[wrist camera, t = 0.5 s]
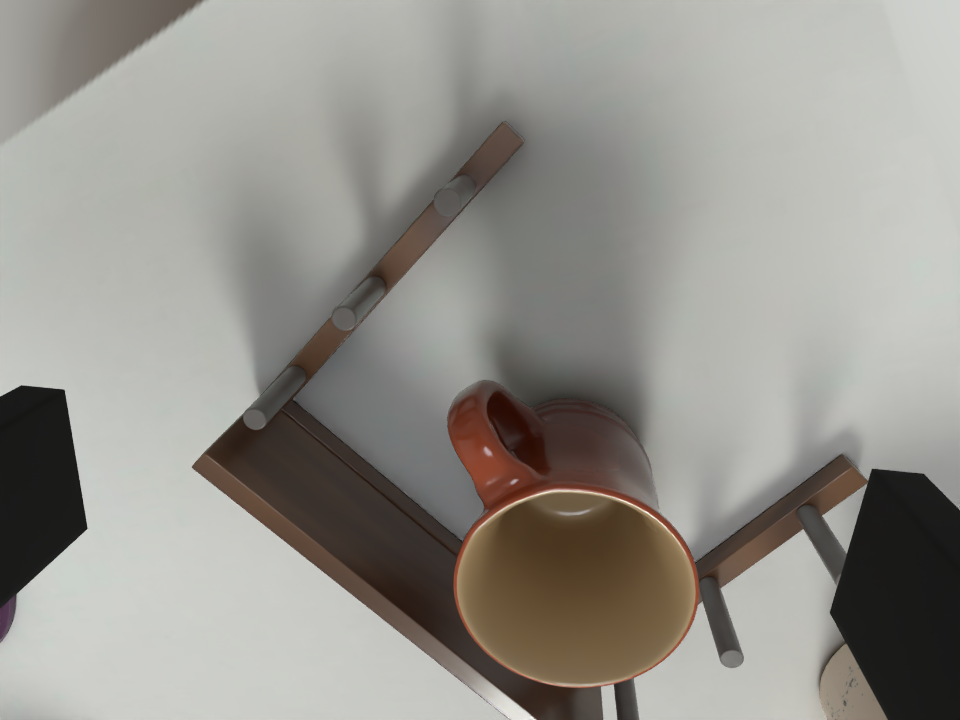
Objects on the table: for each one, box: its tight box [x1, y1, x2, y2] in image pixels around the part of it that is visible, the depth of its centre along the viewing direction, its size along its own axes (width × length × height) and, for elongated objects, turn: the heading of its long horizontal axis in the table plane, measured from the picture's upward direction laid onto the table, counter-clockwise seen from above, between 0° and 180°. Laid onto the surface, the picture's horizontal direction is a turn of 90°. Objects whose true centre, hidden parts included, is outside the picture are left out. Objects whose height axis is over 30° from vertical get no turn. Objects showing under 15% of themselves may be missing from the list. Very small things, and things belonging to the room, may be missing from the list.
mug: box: [447, 380, 699, 688], centre depth 29 cm, size 12×9×10 cm
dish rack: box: [192, 121, 868, 720], centre depth 31 cm, size 18×23×7 cm
